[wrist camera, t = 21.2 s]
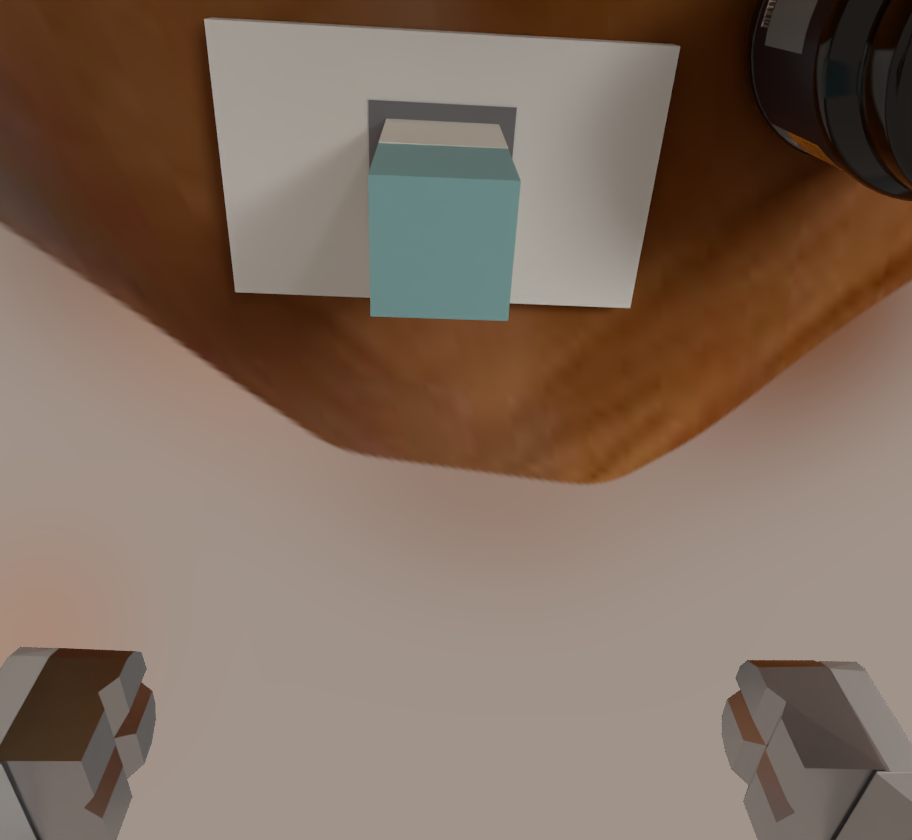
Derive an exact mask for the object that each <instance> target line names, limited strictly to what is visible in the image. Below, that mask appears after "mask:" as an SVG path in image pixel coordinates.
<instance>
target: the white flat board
mask: <svg viewBox="0 0 912 840" xmlns="http://www.w3.org/2000/svg"><path fill="white" fill-rule="evenodd" d="M204 24H205V33H206V41H207V50H208V59H209V68H210V76H211V85H212V94H213V102H214V111H215V120H216V129H217V137H218V146H219V155H220V163H221V172H222V181H223V190H224V198H225V207H226V216H227V224H228V233H229V242H230V251H231V259H232V268H233V277H234V286H235V292H240V293H265V294H290V295H315V296H340V297H365V298H370V260H369V203H368V173H369V170H370V167H371V164H372V161H373V158H374V155H375V152H376V149H377V146H378V143H379V139H380V136H381V133H382V130H383V127H384V124H385V121H386V118H388V119H407V120H426V121H446V122H465V123H485V124H499V126H500V128H501V131H502V133H503V136H504V138H505V141H506V143H507V146H508V149H509V152H510V155H511V157H512V160H513V162H514V165H515V167H516V170H517V172H518V175H519V177H520V180H521V185H520V196H519V207H518V218H517V229H516V240H515V251H514V262H513V273H512V284H511V295H510V303H514V304H539V305H563V306H588V307H613V308H630V306H631V301H632V296H633V291H634V285H635V280H636V275H637V270H638V265H639V259H640V254H641V249H642V244H643V239H644V233H645V228H646V223H647V218H648V213H649V208H650V202H651V197H652V192H653V187H654V182H655V176H656V171H657V166H658V161H659V156H660V150H661V145H662V140H663V135H664V130H665V124H666V119H667V114H668V109H669V104H670V98H671V93H672V88H673V83H674V78H675V72H676V67H677V62H678V57H679V52H680V46H678V45H675V44H667V43H650V42H633V41H615V40H598V39H581V38H563V37H546V36H529V35H511V34H494V33H477V32H459V31H442V30H424V29H407V28H390V27H372V26H355V25H338V24H320V23H303V22H286V21H268V20H251V19H234V18H216V17H210V18H206V19H204Z"/></svg>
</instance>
